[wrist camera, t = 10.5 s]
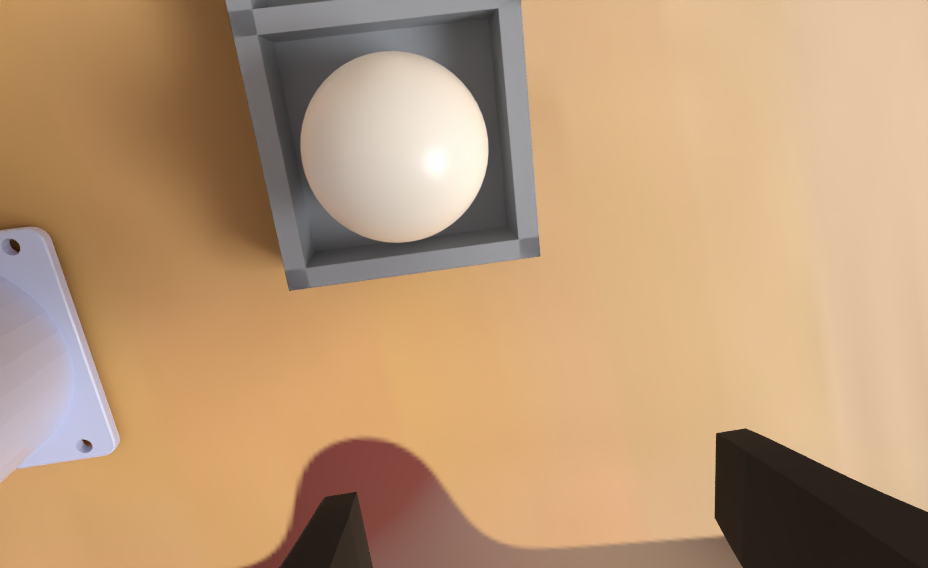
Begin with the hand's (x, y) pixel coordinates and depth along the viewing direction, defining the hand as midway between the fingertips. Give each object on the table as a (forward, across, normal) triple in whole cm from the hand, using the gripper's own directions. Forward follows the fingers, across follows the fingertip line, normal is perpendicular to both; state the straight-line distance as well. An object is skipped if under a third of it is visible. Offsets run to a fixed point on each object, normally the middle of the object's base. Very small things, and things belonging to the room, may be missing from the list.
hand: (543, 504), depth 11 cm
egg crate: (+9, +2, -14) cm, 17 cm away
